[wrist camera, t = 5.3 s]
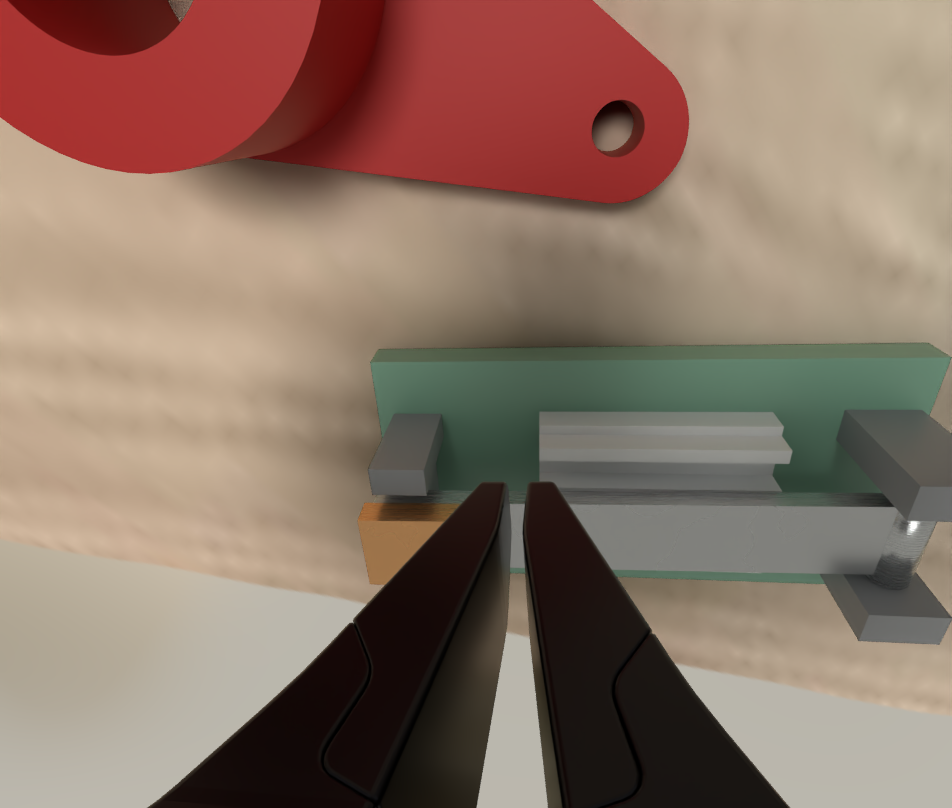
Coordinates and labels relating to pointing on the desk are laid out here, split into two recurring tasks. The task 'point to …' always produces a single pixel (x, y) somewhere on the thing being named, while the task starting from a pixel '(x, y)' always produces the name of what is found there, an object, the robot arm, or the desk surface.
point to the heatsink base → (684, 436)
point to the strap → (686, 532)
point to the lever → (346, 89)
